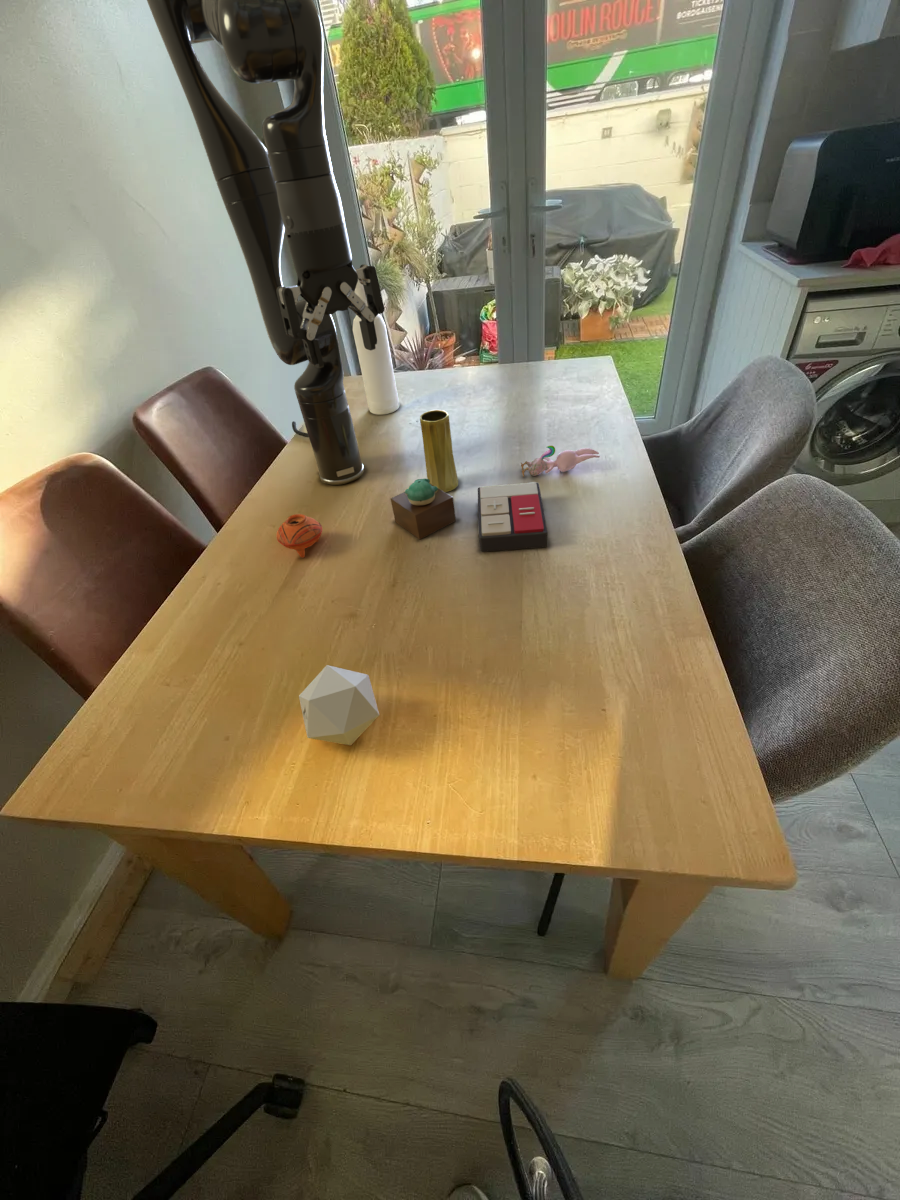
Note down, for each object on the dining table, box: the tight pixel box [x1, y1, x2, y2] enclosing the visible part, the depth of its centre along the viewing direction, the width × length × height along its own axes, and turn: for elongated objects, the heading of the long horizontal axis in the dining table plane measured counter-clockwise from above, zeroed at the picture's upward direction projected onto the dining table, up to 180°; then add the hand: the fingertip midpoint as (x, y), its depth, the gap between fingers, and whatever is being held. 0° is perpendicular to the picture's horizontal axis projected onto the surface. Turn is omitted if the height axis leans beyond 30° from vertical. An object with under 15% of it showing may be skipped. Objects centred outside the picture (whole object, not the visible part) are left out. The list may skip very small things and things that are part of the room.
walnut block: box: [390, 483, 457, 540], centre depth 98 cm, size 8×8×5 cm
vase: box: [419, 409, 459, 493], centre depth 104 cm, size 6×6×14 cm
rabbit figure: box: [520, 445, 601, 478], centre depth 106 cm, size 6×6×15 cm
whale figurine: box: [404, 478, 438, 505], centre depth 95 cm, size 6×7×4 cm
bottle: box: [352, 279, 400, 416], centre depth 132 cm, size 8×8×30 cm
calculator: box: [477, 481, 548, 553], centre depth 95 cm, size 11×4×15 cm
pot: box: [275, 513, 323, 559], centre depth 96 cm, size 8×8×7 cm
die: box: [298, 664, 380, 746], centre depth 65 cm, size 8×9×10 cm
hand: (344, 357), depth 79 cm, fingers open, 8 cm apart
